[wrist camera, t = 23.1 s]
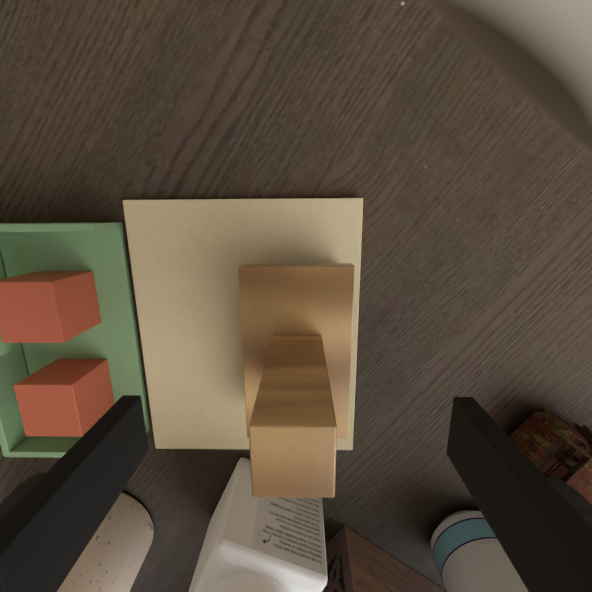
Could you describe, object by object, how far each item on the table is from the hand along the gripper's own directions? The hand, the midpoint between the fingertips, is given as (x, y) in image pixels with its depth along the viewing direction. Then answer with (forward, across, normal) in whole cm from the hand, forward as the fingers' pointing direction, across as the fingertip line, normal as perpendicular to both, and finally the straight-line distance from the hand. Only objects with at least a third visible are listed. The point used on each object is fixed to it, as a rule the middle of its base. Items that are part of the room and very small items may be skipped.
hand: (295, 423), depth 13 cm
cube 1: (+11, -17, -4) cm, 21 cm away
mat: (+11, -4, 0) cm, 12 cm away
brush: (+11, 0, 0) cm, 11 cm away
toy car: (+12, +22, -11) cm, 27 cm away
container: (+11, -3, -16) cm, 20 cm away
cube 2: (+11, -17, +3) cm, 20 cm away
